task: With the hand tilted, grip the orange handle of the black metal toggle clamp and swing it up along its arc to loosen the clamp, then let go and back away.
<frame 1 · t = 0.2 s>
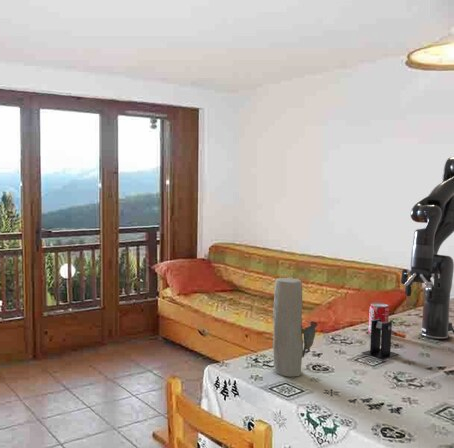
hand: (418, 297, 192), 17 cm above the table, tool pointing down, fingers open, 8 cm apart
clamp bracket: (380, 356, 176), on the table
soda can: (377, 336, 200), on the table
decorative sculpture: (293, 373, 159), on the table
clamp lever: (388, 329, 177), point 9 cm above the table, hinge at -25.0°
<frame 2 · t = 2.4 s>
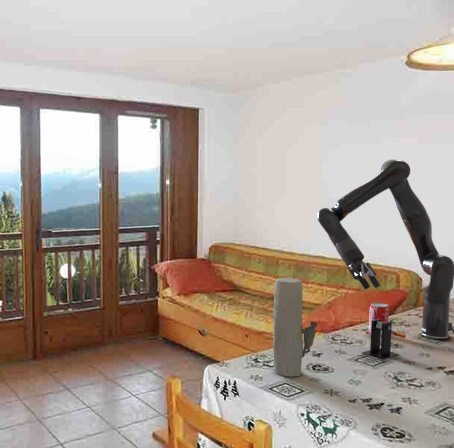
hand: (373, 287, 189), 22 cm above the table, tool tilted 40°, fingers open, 8 cm apart
nothing on the table moved.
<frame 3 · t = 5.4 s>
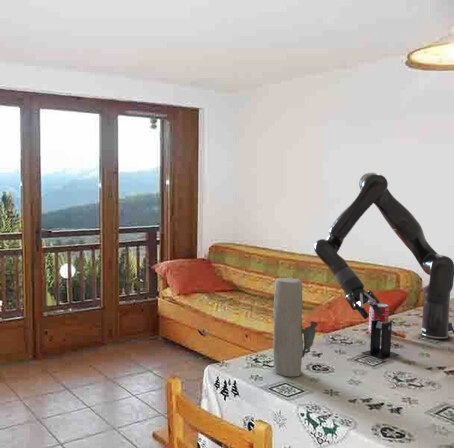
hand: (374, 316, 187), 11 cm above the table, tool tilted 45°, fingers open, 8 cm apart
nothing on the table moved.
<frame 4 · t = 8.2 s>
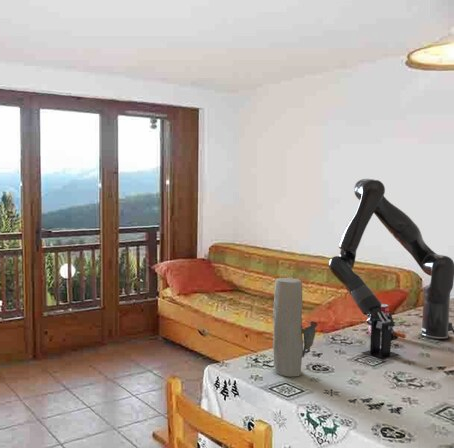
hand: (394, 339, 181), 5 cm above the table, tool tilted 45°, fingers closed
clamp lever: (388, 329, 177), point 9 cm above the table, hinge at -25.1°, touching gripper
everything else where it was.
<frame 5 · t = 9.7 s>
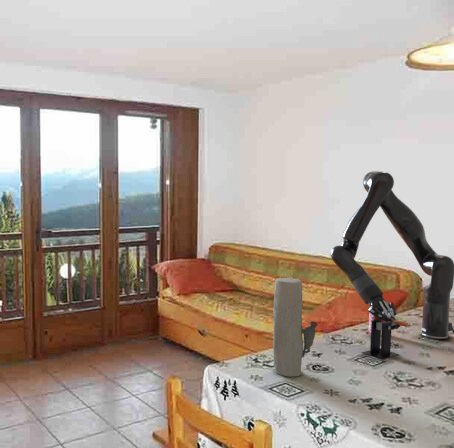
hand: (396, 328, 181), 9 cm above the table, tool tilted 45°, fingers closed
clamp lever: (389, 324, 178), point 11 cm above the table, hinge at -0.9°, touching gripper
everything else where it was.
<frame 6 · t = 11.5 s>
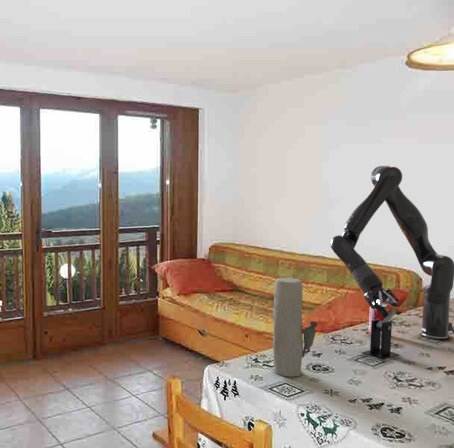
hand: (393, 315, 181), 13 cm above the table, tool tilted 45°, fingers open, 8 cm apart
clamp lever: (388, 317, 177), point 13 cm above the table, hinge at 30.5°
everything else where it was.
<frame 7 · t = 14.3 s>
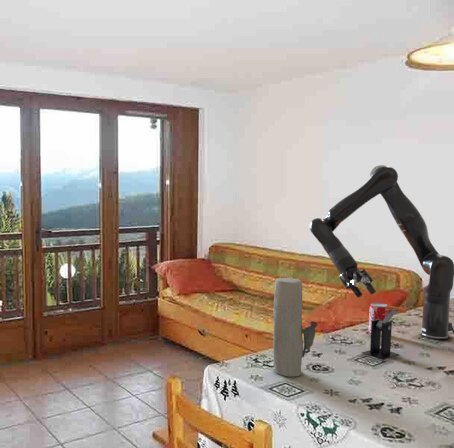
hand: (367, 294, 190), 19 cm above the table, tool tilted 45°, fingers open, 8 cm apart
nothing on the table moved.
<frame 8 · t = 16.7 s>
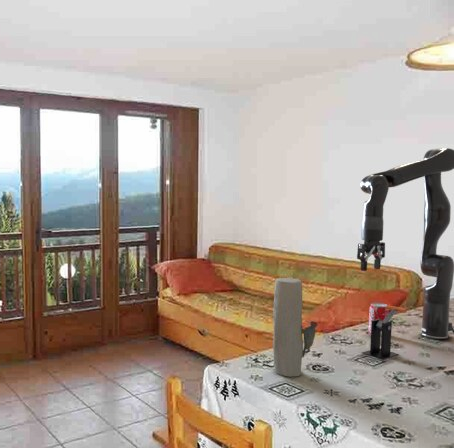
hand: (370, 269, 191), 28 cm above the table, tool pointing down, fingers open, 8 cm apart
nothing on the table moved.
at the end: clamp lever at +30° (first picture: -25°); the gripper is holding nothing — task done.
